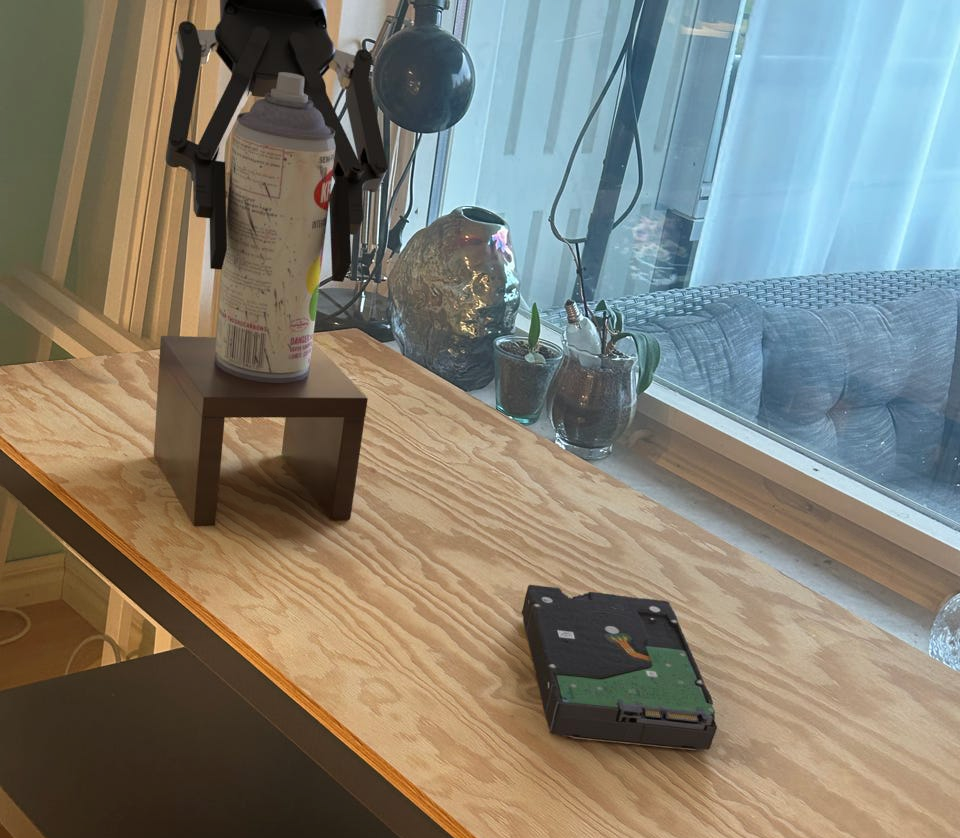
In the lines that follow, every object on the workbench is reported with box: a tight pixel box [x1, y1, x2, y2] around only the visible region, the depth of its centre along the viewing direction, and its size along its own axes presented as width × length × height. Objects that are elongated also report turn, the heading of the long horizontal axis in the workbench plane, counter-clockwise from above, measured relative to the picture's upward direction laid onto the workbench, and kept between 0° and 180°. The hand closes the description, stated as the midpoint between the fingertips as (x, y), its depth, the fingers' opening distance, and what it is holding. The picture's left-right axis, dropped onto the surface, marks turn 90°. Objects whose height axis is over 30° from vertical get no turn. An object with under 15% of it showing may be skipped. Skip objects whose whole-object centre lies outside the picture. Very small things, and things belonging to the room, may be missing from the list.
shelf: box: [153, 335, 369, 527], centre depth 99 cm, size 12×12×10 cm
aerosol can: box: [215, 72, 336, 383], centre depth 92 cm, size 7×7×20 cm
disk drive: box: [521, 584, 718, 751], centre depth 86 cm, size 10×3×15 cm
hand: (281, 265), depth 90 cm, fingers open, 8 cm apart
